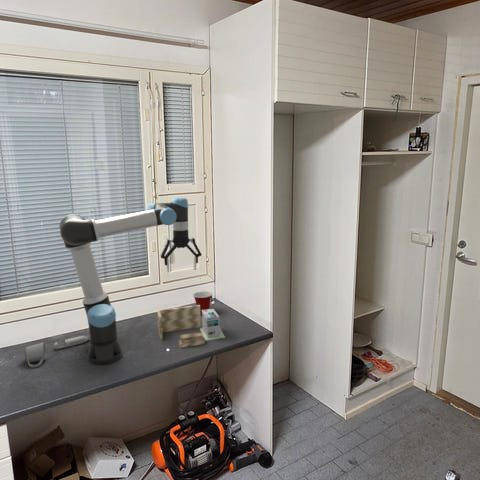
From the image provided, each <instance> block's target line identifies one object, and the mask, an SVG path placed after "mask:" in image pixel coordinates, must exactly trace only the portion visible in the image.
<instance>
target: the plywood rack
mask: <svg viewBox="0 0 480 480" xmlns="http://www.w3.org/2000/svg"><path fill="white" fill-rule="evenodd" d="M156 311H157V312H156V314H157V330H158V335H159V338H160V341H163V340H164V334H163V333H167V332H175V331H181V330H183V331H184V330H188V329H189V330H190V329H197V328H202V325H201V323H202V322H201V321H202V320H201V319H202V316H201V315H200V305H196V304H194V305H187V306H180V307H173V308H164V309H157V310H156Z"/></svg>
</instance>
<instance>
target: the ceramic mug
mask: <svg viewBox="0 0 480 480" xmlns="http://www.w3.org/2000/svg"><path fill="white" fill-rule="evenodd" d="M23 352H24V359H25V362H26V363H27V364H28V366H29V367H30V368H38V367H40V366H41V365H42V364H43V362H44V361H46V360H47V351H46V346H45V343H44V342H40V343H36V344H32V345H28V346H26V347H25V348H24V350H23ZM36 362H37V364H32V363H36Z"/></svg>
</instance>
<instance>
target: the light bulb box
mask: <svg viewBox="0 0 480 480" xmlns="http://www.w3.org/2000/svg"><path fill="white" fill-rule="evenodd" d="M201 319H202V320H201V321H202V322H201V323H202V325H201V328H202V329H203V331H204V332H205V334H206V336H207V337H208V338H209V337H215V336H220V329H221V328H220V327H221V326H220V321H221V320H220V315H219V314H218V313H217V311H216V310H215V309H214V308H209V309H208V310H202V315H201Z"/></svg>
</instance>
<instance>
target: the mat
mask: <svg viewBox="0 0 480 480" xmlns="http://www.w3.org/2000/svg"><path fill="white" fill-rule="evenodd" d="M199 331H200V333H201V334H203V336H204V340H205V342H207V341H215V340H220V339H221V338H222V339H225V338H226V336H225V334H224V332H223V331H222V329H221V328H220V336H215V337H209V338H208V337H207V336H206V334H205V332H204V331H203V329H202V327H199ZM222 339H221V340H222Z"/></svg>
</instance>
